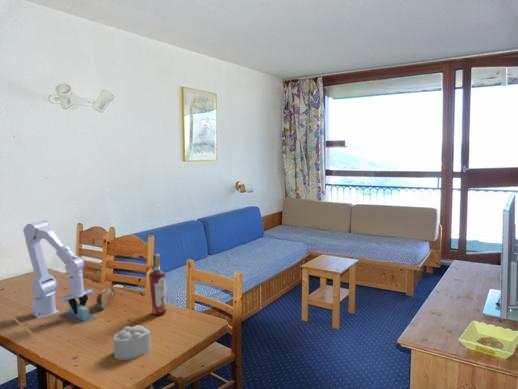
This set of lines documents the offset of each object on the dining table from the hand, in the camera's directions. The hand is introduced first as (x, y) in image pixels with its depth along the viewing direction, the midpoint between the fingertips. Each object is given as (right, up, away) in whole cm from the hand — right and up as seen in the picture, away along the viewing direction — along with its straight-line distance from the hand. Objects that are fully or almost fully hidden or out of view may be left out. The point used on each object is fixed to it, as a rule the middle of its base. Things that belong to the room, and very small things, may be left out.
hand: (78, 312), depth 179 cm
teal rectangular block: (0, -1, 0) cm, 1 cm away
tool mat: (0, -2, 0) cm, 2 cm away
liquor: (+37, -1, +2) cm, 37 cm away
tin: (+8, -1, +12) cm, 14 cm away
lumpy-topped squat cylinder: (+35, -5, -32) cm, 48 cm away
